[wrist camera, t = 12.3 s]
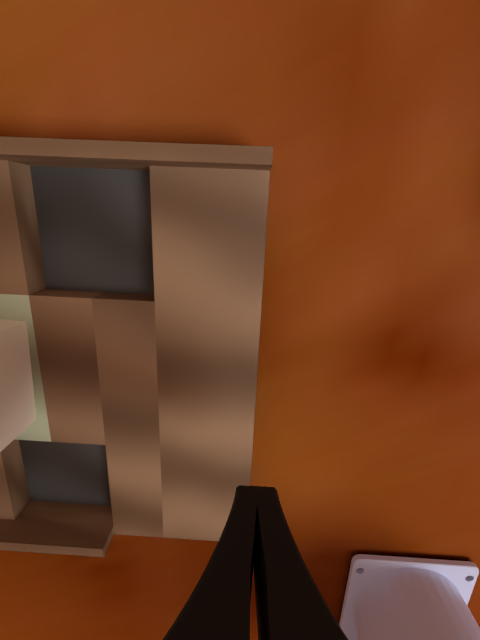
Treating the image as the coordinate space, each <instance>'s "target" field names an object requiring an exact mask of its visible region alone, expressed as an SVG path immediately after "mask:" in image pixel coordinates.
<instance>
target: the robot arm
mask: <svg viewBox="0 0 480 640" xmlns="http://www.w3.org/2000/svg"><path fill="white" fill-rule="evenodd" d="M253 566H254V581H255V596H256V610H257V625H258V640H480V628H479V626H478V624H477V623H476V621H475V619H474V617H473V615H472V614H471V612H470V610H469V608H468V606H467V605H468V602H469V599H470V596H471V593H472V591H473V588H474V585H475V582H476V579H477V577H478V574H479V569H478V568H477V566H476V565H475V563H473V562H470V561H456V560H441V559H426V558H412V557H397V556H382V555H367V554H357V555H355V556H353V558H352V561H351V566H350V571H349V576H348V581H347V586H346V592H345V597H344V602H343V607H342V612H341V617H340V622H339V624H338V622H337V621H336V619H335V618H334V616H333V614H332V613H331V611H330V609H329V608H328V606H327V604H326V602H325V601H324V599H323V597H322V595H321V594H320V592H319V590H318V588H317V586H316V584H315V583H314V581H313V579H312V577H311V575H310V573H309V571H308V569H307V567H306V565H305V563H304V561H303V559H302V557H301V554H300V552H299V550H298V548H297V546H296V543H295V541H294V539H293V536H292V534H291V532H290V529H289V527H288V524H287V522H286V519H285V516H284V513H283V510H282V508H281V504H280V501H279V497H278V494H277V490H276V489H275V488H274V487H260V486H244V485H239V486H238V487H236V492H235V497H234V501H233V504H232V508H231V511H230V514H229V516H228V519H227V522H226V524H225V527H224V529H223V532H222V534H221V537H220V539H219V541H218V544H217V546H216V548H215V550H214V552H213V554H212V556H211V558H210V561H209V563H208V565H207V567H206V569H205V571H204V573H203V574H202V576H201V578H200V580H199V582H198V584H197V585H196V587H195V589H194V591H193V593H192V594H191V596H190V598H189V599H188V601H187V603H186V604H185V606H184V608H183V609H182V611H181V612H180V614H179V616H178V617H177V619H176V621H175V622H174V624H173V625H172V627H171V628H170V630H169V631H168V633H167V634H166V636H165V637H164V639H163V640H250V598H251V587H252V576H253Z"/></svg>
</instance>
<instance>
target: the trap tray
mask: <svg viewBox="0 0 480 640" xmlns="http://www.w3.org/2000/svg"><path fill="white" fill-rule="evenodd" d="M272 156H273V147H265V146H238V145H212V144H185V143H159V142H132V141H106V140H79V139H53V138H26V137H0V319H8V320H18V321H26V322H27V332H28V342H29V351H30V361H31V370H32V380H33V390H34V399H35V409H36V418H37V419H36V420H35V421H34V422H33V423H32V424H31V425H29V426H28V427H27V428H26V429H25V430H24V431H23V432H22V433H21V434H20V435H18V436H17V437H16V438H15V439H14V440H13V441H12V442H11V443H10V444H9V445H8V446H6V447H5V448H4V449H3V450H2V451H1V452H0V550H6V551H21V552H35V553H49V554H64V555H78V556H93V557H104V556H105V554H106V551H107V549H108V547H109V544H110V542H111V540H112V538H113V535H114V534H119V535H134V536H149V537H163V538H178V539H193V540H208V541H219V539H220V537H221V534H222V532H223V529H224V527H225V524H226V522H227V519H228V516H229V514H230V511H231V508H232V504H233V501H234V497H235V492H236V487H238V486H239V485H244V486H250V479H251V463H252V448H253V432H254V416H255V400H256V384H257V368H258V352H259V337H260V321H261V305H262V289H263V273H264V257H265V241H266V226H267V210H268V194H269V178H270V169H271V166H272Z"/></svg>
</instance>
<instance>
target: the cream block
mask: <svg viewBox="0 0 480 640" xmlns="http://www.w3.org/2000/svg"><path fill="white" fill-rule="evenodd" d="M36 419H37V418H36V409H35V399H34V390H33V380H32V370H31V361H30V351H29V342H28V332H27V322H26V321H18V320H8V319H0V452H1V451H2V450H3V449H4V448H5V447H6V446H8V445H9V444H10V443H11V442H12V441H13V440H14V439H15V438H16V437H17V436H18V435H20V434H21V433H22V432H23V431H24V430H25V429H26V428H27V427H28V426H29V425H31V424H32V423H33V422H34V421H35V420H36Z"/></svg>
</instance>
